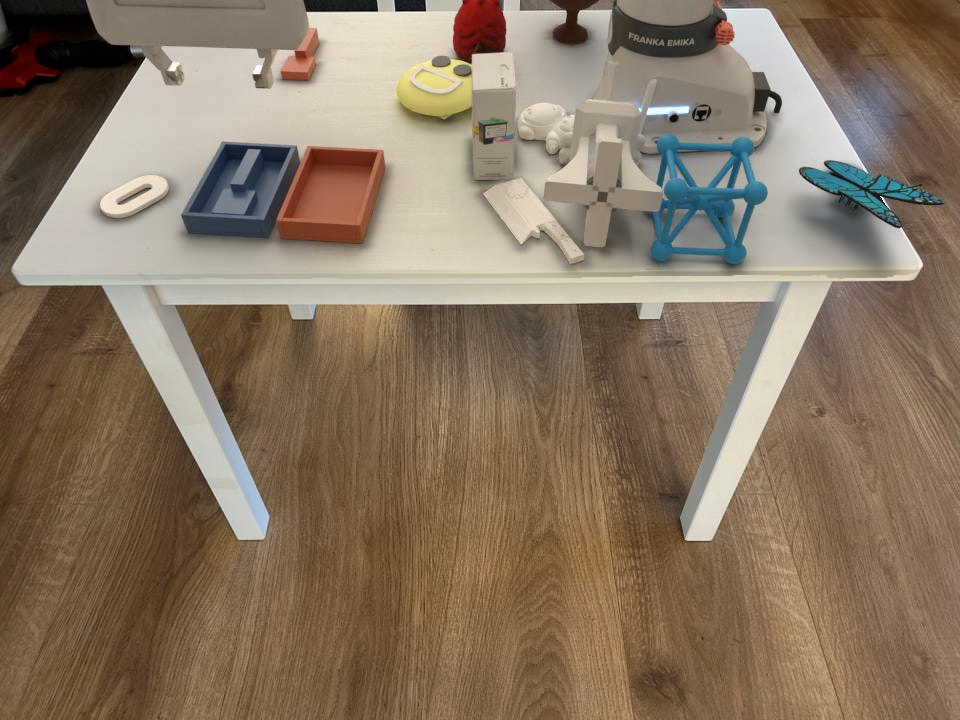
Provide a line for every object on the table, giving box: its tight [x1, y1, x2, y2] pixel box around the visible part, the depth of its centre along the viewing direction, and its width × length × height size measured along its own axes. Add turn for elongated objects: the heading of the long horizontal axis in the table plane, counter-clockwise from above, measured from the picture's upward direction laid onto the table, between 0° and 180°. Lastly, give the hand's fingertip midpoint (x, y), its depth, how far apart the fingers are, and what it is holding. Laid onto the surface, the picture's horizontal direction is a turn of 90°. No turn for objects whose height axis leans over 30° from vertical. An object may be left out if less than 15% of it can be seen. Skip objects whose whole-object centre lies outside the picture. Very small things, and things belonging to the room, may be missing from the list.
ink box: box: [471, 51, 517, 181], centre depth 88 cm, size 8×5×12 cm, turn 1°
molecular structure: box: [645, 134, 769, 265], centre depth 79 cm, size 10×10×10 cm
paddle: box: [211, 149, 265, 216], centre depth 87 cm, size 4×11×2 cm, turn 174°
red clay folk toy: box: [452, 0, 507, 65], centre depth 104 cm, size 8×7×15 cm
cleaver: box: [482, 177, 585, 265], centre depth 84 cm, size 5×15×1 cm, turn 24°
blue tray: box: [180, 141, 301, 239], centre depth 87 cm, size 9×14×2 cm, turn 175°
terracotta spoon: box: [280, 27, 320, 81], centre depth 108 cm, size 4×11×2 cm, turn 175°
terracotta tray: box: [275, 145, 386, 244], centre depth 87 cm, size 9×14×2 cm, turn 175°
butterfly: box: [798, 159, 946, 229], centre depth 84 cm, size 19×13×5 cm
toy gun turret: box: [542, 60, 664, 248], centre depth 83 cm, size 12×13×18 cm
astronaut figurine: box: [517, 102, 575, 155], centre depth 95 cm, size 9×12×3 cm
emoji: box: [395, 55, 472, 121], centre depth 100 cm, size 4×12×12 cm
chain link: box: [99, 174, 170, 219], centre depth 88 cm, size 8×1×5 cm
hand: (220, 84), depth 78 cm, fingers open, 8 cm apart
